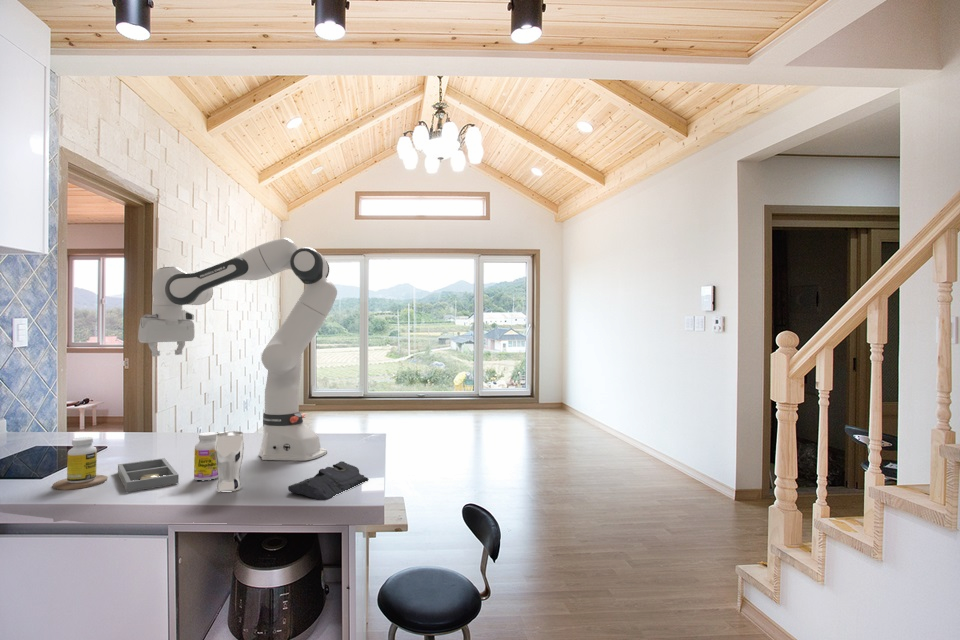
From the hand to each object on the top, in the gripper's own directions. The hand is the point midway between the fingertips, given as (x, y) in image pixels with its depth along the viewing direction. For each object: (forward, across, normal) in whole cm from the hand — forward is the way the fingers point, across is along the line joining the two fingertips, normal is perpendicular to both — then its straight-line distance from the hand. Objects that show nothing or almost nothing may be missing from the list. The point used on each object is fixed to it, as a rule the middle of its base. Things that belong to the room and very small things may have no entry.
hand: (167, 355), depth 177 cm
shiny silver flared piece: (+34, -26, -46) cm, 63 cm away
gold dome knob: (+34, -27, -20) cm, 48 cm away
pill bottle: (+33, -32, -3) cm, 46 cm away
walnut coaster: (+34, -32, -3) cm, 47 cm away
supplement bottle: (+34, -19, -33) cm, 51 cm away
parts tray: (+34, -23, -16) cm, 44 cm away
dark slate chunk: (+35, -16, -70) cm, 80 cm away
